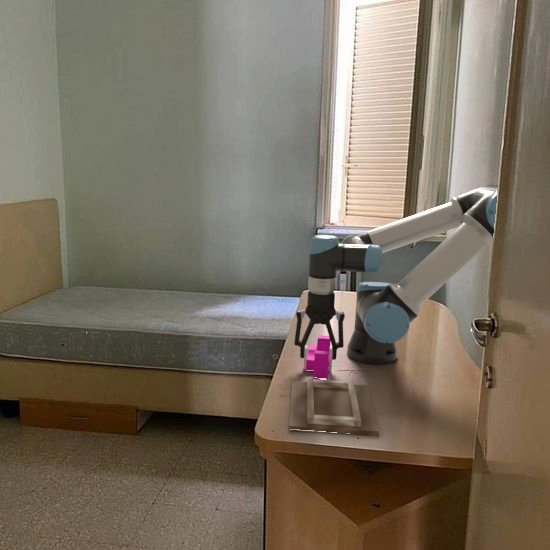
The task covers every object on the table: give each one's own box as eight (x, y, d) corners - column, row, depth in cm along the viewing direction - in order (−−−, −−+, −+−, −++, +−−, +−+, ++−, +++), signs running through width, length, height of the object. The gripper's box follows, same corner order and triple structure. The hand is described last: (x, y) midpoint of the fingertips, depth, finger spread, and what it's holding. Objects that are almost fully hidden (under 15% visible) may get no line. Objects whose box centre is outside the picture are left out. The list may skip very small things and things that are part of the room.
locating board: (367, 389, 142) (368, 379, 141) (379, 436, 119) (380, 425, 118) (292, 385, 143) (292, 375, 142) (288, 430, 120) (289, 419, 119)
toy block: (308, 357, 162) (309, 334, 160) (329, 359, 161) (330, 336, 160) (304, 378, 148) (305, 352, 146) (327, 380, 147) (328, 354, 145)
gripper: (286, 293, 145) (283, 372, 150) (358, 296, 144) (352, 376, 149) (287, 286, 152) (284, 362, 157) (355, 289, 151) (350, 365, 156)
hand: (317, 368), depth 153 cm, fingers closed on toy block, 6 cm apart
